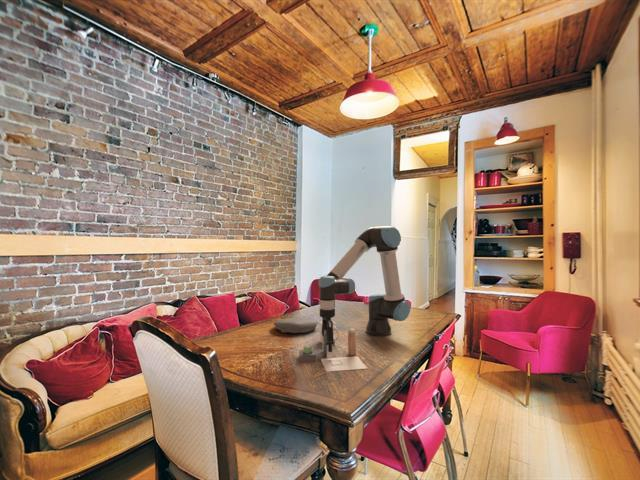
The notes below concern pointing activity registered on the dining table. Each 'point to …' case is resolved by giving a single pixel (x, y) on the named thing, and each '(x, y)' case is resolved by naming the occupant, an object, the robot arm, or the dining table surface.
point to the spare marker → (351, 342)
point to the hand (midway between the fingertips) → (327, 353)
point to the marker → (325, 344)
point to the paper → (343, 364)
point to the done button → (307, 350)
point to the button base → (307, 356)
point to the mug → (333, 331)
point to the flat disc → (296, 325)
